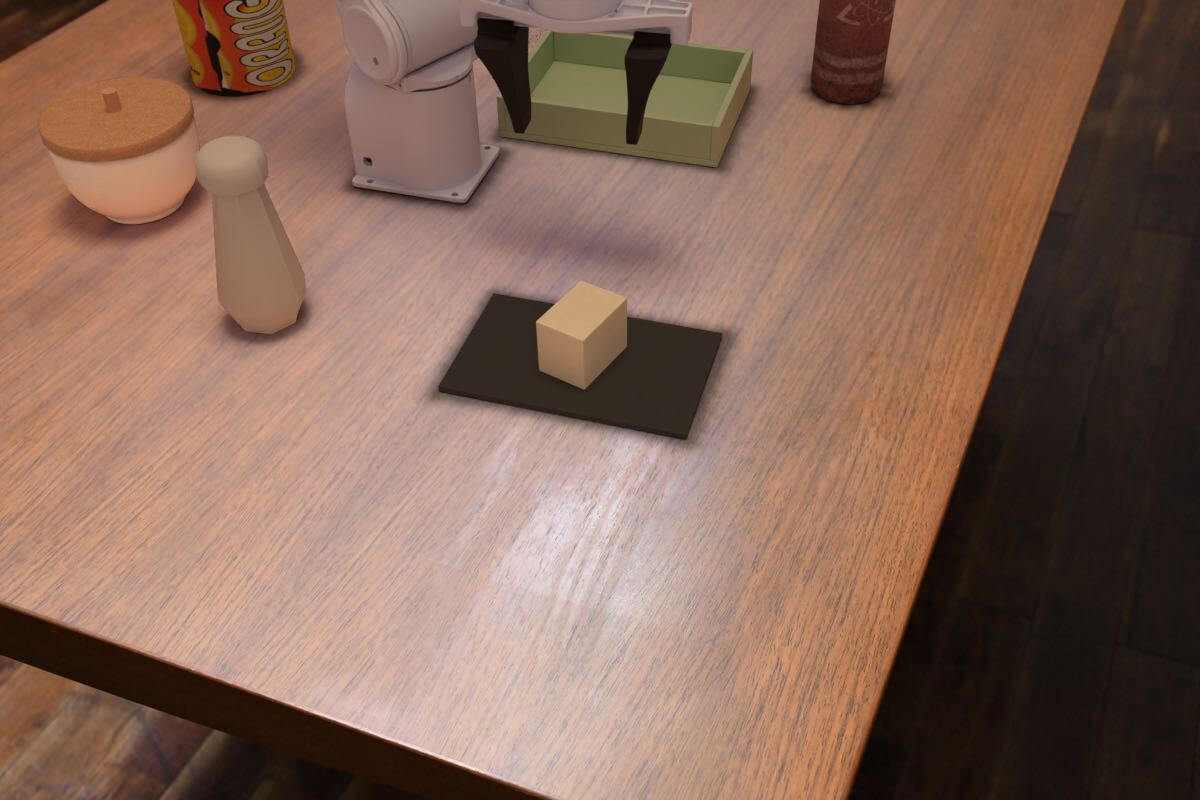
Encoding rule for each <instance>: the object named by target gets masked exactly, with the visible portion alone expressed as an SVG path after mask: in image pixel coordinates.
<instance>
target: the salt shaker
mask: <svg viewBox="0 0 1200 800" xmlns="http://www.w3.org/2000/svg"><path fill="white" fill-rule="evenodd" d="M195 167H196V175H197V177H196V179H197V180H198V183H199V184H200V185H201V188H203V189H204V190H206V192H207V193H209V194H211V207H212V223H213V239H214V257H215V259H214V260H215V273H216V274H215V275H216V277H215V278H216V292H217V301H218V302H219V304H220V306H221V307H222V308H223V309H224V310H225V311H226V313H228V314H229V316H231V318H232V319H233V320H234V321H235V322H236V323H237V324H238V325H239V326H240V327H241V328H242V329H243V331H245V332H246V333H247V332H248V333H255V334H265V335H273V334H276V333H278V332H279V331H281V330H284V329H286V328H288V327H290V326H292V325H294V324H296V322H297V318H298V315H299V312H300V310H301V307H302V304H303V301H304V299H305V296H306V294H307V282H306V276H305V272H304V270H303V267H302V265H301V263H300V261H299V259H298V256H297V255H296V252H295V250H294V247H293V245H292V242H291V241H290V238H289V236H288V234H287V232H286V229H285V227H284V225H283V222H282V220H281V218H280V216H279V214H278V212H277V209H276V207H275V205H274V202H273V200H272V197H271V195H270V193H269V191H268V189H267V187H266V185H265V182H266V181H267V179H268V178H269V174H270V173H269V162H268V157H267V153H266V151H265V149H264V147H263V145H261V144H260V143H259V142H257V141H256V140H254V139H252V138H251V137H248V136H244V135H241V134H239V135H238V134H237V135H225V136H221V137H216V138H213V139H212V140H210V141H208V142H206V143H205V144H203V146H202V147H200V150H199V152H198V153H197V154H196V155H195Z"/></svg>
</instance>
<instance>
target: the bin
mask: <svg viewBox="0 0 1200 800" xmlns="http://www.w3.org/2000/svg"><path fill="white" fill-rule="evenodd" d="M633 37H634V36H628V35H617V34H605V33H593V32H591V33H576V34H572V33H559V32H553V31H549V30H545V29H544V32H543V33H542V34H541V35H540V37H539V38H538V40H537V41H536V42H535V44H534V45H533V46H532V48H531V49H530V50H529V51H528V74H529V84H530V94H531V120H530V122H529V124H528V126H527V128H526V130H525V132H524V134H521V133H515V132H514V129H513V125H512V122H511V119H510V116H509V113H508V110H507V107H506V105H505V102H504V100H503V97H502V95H501V93H500V92H498V94H497V95H496V106H497V119H498V134H499V137H502V138H509V139H515V140H523V141H529V142H530V141H531V142H536V143H544V144H551V145H558V146H563V147H564V146H565V147H572V148H578V149H587V150H593V151H601V152H607V153H608V152H609V153H613V154H619V155H620V154H621V155H627V156H634V157H641V158H647V159H648V158H649V159H656V160H663V161H668V162H676V163H682V164H689V165H696V166H704V167H709V168H710V167H712V168H718V166H719V164H720V161H721V159H722V156H723V155H724V151H725V149H726V147H727V145H728V143H729V141H730V138H731V135H732V133H733V130H734V129H735V126H736V124H737V122H738V119H739V116H740V114H741V113H742V111H743V107H744V104H745V103H746V100H747V98H748V95H749V93H750V91H751V85H752V73H753V72H752V71H753V60H754V59H753V58H754V50H752V49H745V48H744V49H743V48H735V47H727V46H721V45H720V46H719V45H718V46H717V45H711V44H702V43H694V42H688V43H687V45H676V44H672V46H671V48H670V51H669V54H668V57H667V59H666V62H665V64H664V66H663V68H662V70H661V72H660V74H659V76H658V77H657V79H656V81H655V83H654V85H653V87H652V89H651V92H650V94H649V97H648V101H647V105H646V109H645V113H644V119H643V126H642V132H641V135H640V138H639V141H638V143H637V144H636V145H631V144H626V123H627V110H628V94H627V80H626V70H625V55H626V52H627V50H628V48H629V45H630V43H631V42H632V39H633Z"/></svg>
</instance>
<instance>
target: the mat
mask: <svg viewBox="0 0 1200 800" xmlns="http://www.w3.org/2000/svg"><path fill="white" fill-rule="evenodd" d="M555 304H556V303H552V302H547V301H540V300H534V299H530V298H524V297H518V296H511V295H506V294H501V293H496V292H495V293H493V294H492V295H491V297H490V298H489V300H488V302H487V304H486V305H485V307H484V309H483V310H482V311H481V313H480V315H479V317H478V319H477V320H476V322H475V324H474V325H473V327H472V329H471V330H470V332H469V334H468V335H467V337H466V339H465V341H464V342H463V344H462V346H461V348H460V349H459V350H458V352H457V354H456V356H454V357H455V358H454V359H453V360H452V362H451V364H450V366H449V368H448V369H447V371H446V372H445V375H444V376H443V378H442V380H441V381H440V383H439V384H438V385H437V388H438V391H439V392H441V393H448V394H451V395H457V396H462V397H468V398H472V399H478V400H483V401H488V402H493V403H498V404H503V405H509V406H514V407H519V408H524V409H529V410H534V411H539V412H543V413H549V414H555V415H560V416H565V417H569V418H575V419H580V420H586V421H590V422H595V423H601V424H605V425H611V426H616V427H621V428H626V429H630V430H636V431H642V432H646V433H652V434H656V435H662V436H667V437H672V438H677V439H683V440H687V439H688V436H689V433H690V430H691V428H692V424H693V421H694V418H695V416H696V414H697V410H698V407H699V404H700V401H701V398H702V395H703V393H704V390H705V387H706V384H707V382H708V379H709V376H710V374H711V373H710V372H711V370H712V367H713V365H714V361H715V359H716V355H717V353H718V350H719V348H720V344H721V342H722V339H723V333H722V332H718V331H713V330H706V329H701V328H696V327H689V326H684V325H678V324H673V323H668V322H661V321H655V320H649V319H643V318H638V317H633V316H627V347H626V348H625V349H624V350H623V351H622V352H621V353H620V354H619V355H618V356H617V357H616V358H615V359H614V360H613V361H612V362H611V363H610V364H609V365H608V366H607V367H606V368H605V369H604V370H603V371H602V373H601V374H600V375H599V376H598V377H597V378H596V379H595V380H594V381H593V382H592V383H591V384H590V385H589V386H588V387H587V388H586V389H585V390H584V389H581V388H579V387H577V386H574V385H572V384H570V383H567V382H565V381H563V380H560V379H558V378H556V377H553V376H551V375H549V374H546V373H544V372H542V371H540V370H539V361H538V345H537V330H536V321H537V320H538V319H539V318H540V317H542V316H543V315H544V314H545V313H546V312H547V311H548V310H549V309H550V308H551V307H552V306H554V305H555Z"/></svg>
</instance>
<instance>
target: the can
mask: <svg viewBox="0 0 1200 800" xmlns="http://www.w3.org/2000/svg"><path fill="white" fill-rule="evenodd" d="M896 2H897V1H896V0H819V2H818V10H817V20H816V27H815V28H816V29H815V38H814V39H815V40H814V46H813V55H812V63H811V72H810V83H811V85H812V88H813V90H814V92H815V93H816V94H817V95H818V96H819V97H820V98H822V99H825V100H827V101H829V102H834V103H838V104H847V105H852V104H861V103H865V102H868V101H871V100H872V99H874V98H875V97H876V96H877V95H878V93H879V92H880V91H881V90H882V89H883V84H884V77H885V72H886V65H887V59H888V52H889V45H890V39H891V35H892V34H891V33H892V26H893V20H894V14H895V9H896V8H895V7H896Z"/></svg>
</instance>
